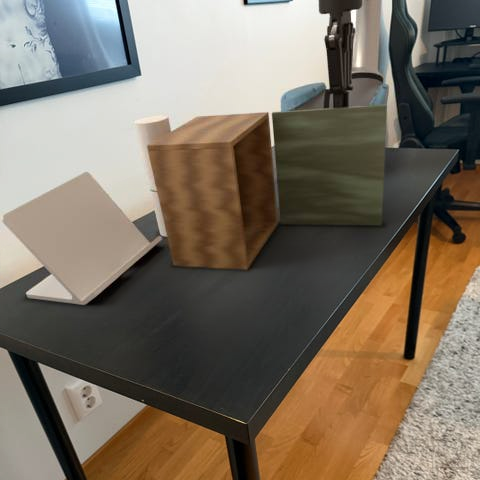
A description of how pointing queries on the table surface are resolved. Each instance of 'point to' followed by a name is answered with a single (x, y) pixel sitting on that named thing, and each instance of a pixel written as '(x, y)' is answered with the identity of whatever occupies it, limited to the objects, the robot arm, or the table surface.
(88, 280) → the tablet stand
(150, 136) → the cylindrical container
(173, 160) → the cupboard
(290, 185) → the cupboard door
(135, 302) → the table surface
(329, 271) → the table surface
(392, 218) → the table surface
